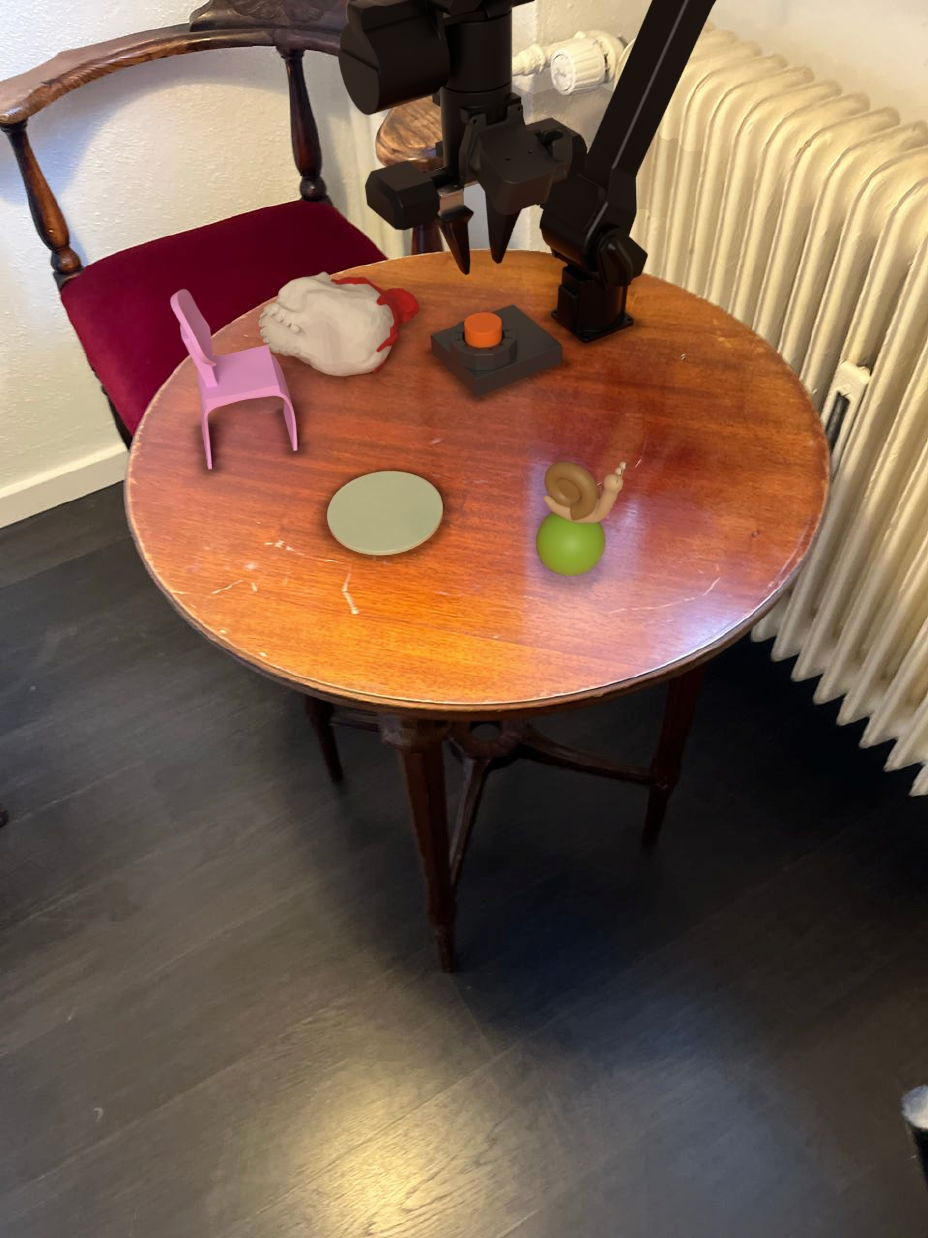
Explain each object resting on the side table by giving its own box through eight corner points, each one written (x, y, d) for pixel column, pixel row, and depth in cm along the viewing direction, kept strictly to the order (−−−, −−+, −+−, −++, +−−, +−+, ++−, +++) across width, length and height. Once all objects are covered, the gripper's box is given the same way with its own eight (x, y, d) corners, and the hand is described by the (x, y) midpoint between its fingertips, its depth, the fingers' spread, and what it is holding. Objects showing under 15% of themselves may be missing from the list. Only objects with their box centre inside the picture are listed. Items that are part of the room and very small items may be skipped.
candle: (260, 366, 91) (373, 321, 98) (330, 412, 85) (443, 361, 93) (249, 280, 84) (370, 239, 92) (323, 324, 79) (445, 276, 87)
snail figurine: (594, 604, 69) (607, 489, 60) (523, 574, 72) (524, 459, 63) (625, 560, 72) (641, 444, 63) (555, 532, 75) (561, 416, 65)
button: (489, 323, 88) (489, 307, 87) (508, 341, 86) (508, 324, 85) (458, 335, 87) (457, 319, 86) (477, 353, 85) (476, 337, 84)
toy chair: (304, 456, 82) (270, 309, 71) (209, 477, 81) (158, 331, 69) (290, 403, 87) (256, 259, 76) (200, 422, 86) (152, 278, 75)
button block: (513, 322, 95) (513, 287, 92) (561, 363, 90) (563, 328, 87) (429, 354, 92) (426, 319, 89) (474, 398, 87) (473, 363, 84)
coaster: (408, 460, 81) (408, 456, 81) (464, 525, 76) (464, 521, 75) (309, 502, 78) (308, 497, 78) (359, 572, 73) (358, 568, 72)
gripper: (420, 146, 62) (435, 342, 74) (636, 82, 67) (617, 274, 79) (350, 94, 68) (374, 283, 80) (552, 40, 74) (547, 224, 86)
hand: (481, 267), depth 81 cm, fingers open, 3 cm apart
